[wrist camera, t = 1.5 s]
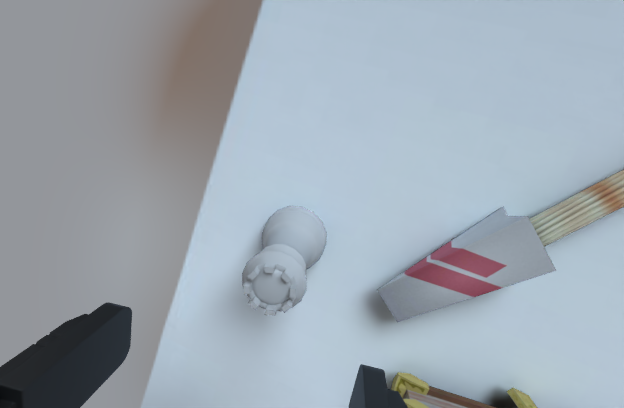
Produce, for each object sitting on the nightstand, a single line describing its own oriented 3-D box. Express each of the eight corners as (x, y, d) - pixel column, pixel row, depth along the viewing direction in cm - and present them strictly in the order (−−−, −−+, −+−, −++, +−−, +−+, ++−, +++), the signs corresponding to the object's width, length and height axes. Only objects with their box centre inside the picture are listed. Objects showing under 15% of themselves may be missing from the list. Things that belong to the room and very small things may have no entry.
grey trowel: (375, 293, 19) (724, 116, 16) (370, 274, 22) (667, 119, 18) (405, 342, 20) (748, 181, 16) (396, 317, 22) (690, 175, 19)
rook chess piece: (339, 245, 22) (335, 308, 14) (287, 273, 23) (257, 347, 15) (305, 192, 21) (282, 229, 14) (253, 223, 22) (204, 275, 15)
